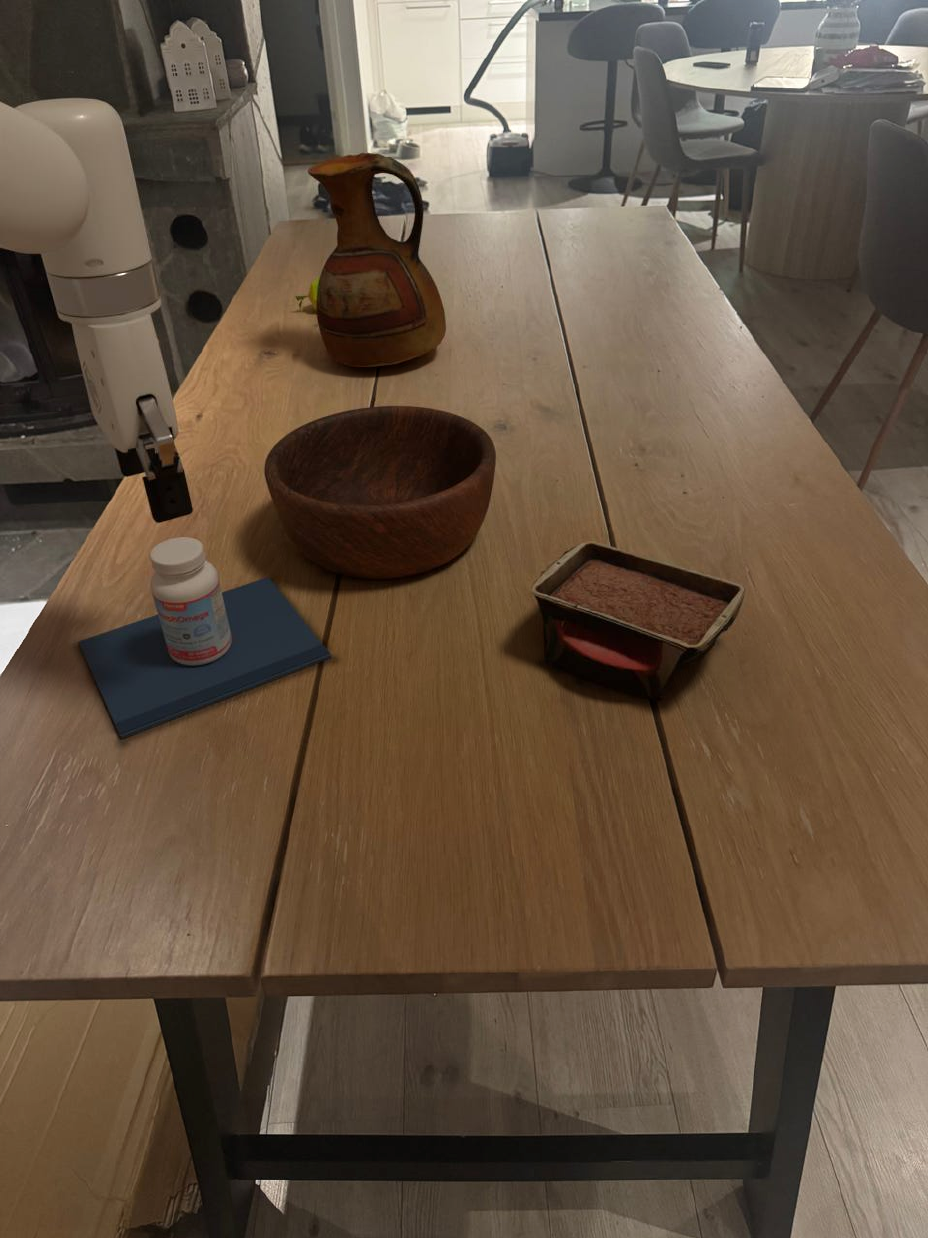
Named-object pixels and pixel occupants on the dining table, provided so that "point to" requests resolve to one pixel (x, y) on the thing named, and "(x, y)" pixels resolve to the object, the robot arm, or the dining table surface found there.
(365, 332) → the ceramic pitcher
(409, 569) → the wooden bowl
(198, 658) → the pill bottle
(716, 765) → the dining table surface
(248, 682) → the book
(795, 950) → the dining table surface
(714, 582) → the baking dish
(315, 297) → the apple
